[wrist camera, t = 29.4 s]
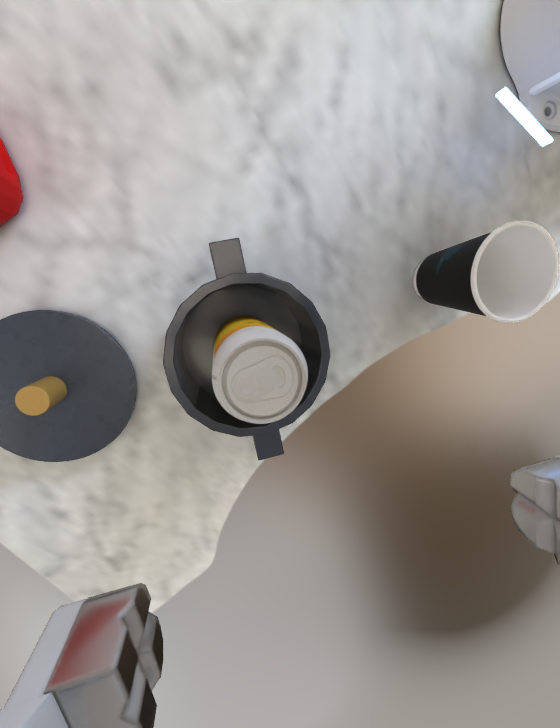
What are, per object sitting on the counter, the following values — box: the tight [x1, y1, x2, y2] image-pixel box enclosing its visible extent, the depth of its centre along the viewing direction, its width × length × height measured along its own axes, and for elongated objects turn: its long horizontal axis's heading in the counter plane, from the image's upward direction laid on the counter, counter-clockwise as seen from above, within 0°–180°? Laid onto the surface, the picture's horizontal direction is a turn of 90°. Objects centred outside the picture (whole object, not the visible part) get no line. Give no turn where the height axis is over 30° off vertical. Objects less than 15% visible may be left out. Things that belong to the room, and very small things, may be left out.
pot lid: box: [0, 310, 136, 462], centre depth 31 cm, size 15×15×5 cm
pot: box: [163, 238, 330, 460], centre depth 32 cm, size 14×19×8 cm
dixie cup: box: [413, 220, 559, 323], centre depth 32 cm, size 8×8×11 cm
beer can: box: [212, 316, 308, 424], centre depth 28 cm, size 6×6×15 cm
